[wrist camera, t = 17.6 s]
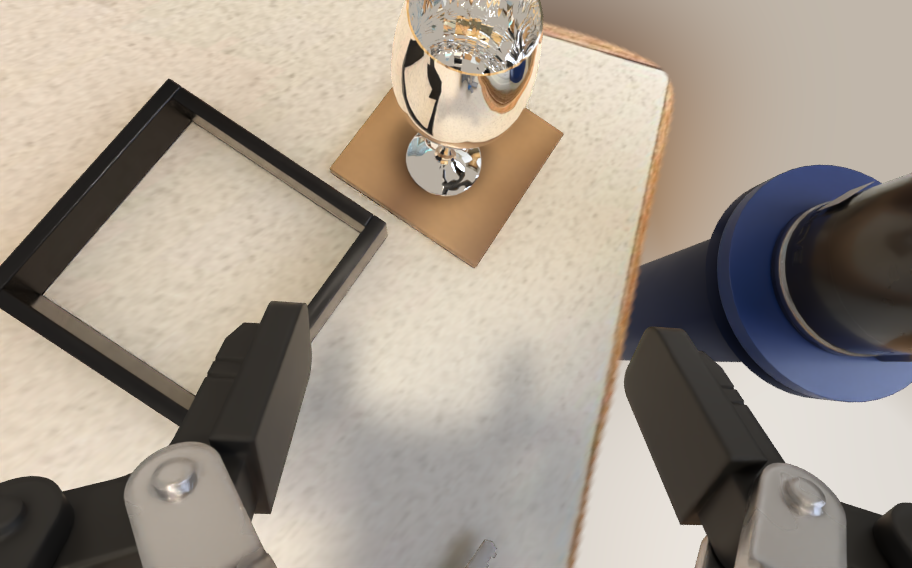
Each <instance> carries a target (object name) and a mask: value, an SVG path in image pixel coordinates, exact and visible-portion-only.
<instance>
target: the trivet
mask: <svg viewBox="0 0 912 568" xmlns="http://www.w3.org/2000/svg"><path fill="white" fill-rule="evenodd" d="M416 134H417V132H416V131H415V130H414V129H413V128H412V127H411V125H410V124H409V123H408V122H407V120H406V119H405V117H404V116H403V114H402V112H401V110H400V108H399V106H398V103H397V100H396V97H395V94H394V90H393V87H392V88H391V90H390V91H389V92H388V93H387V95H386V96H385V97H384V99H383V100H382V101H381V103H380V104H379V105H378V106H377V108H376V109H375V110H374V112H373V113H372V114H371V115H370V117H369V118H368V119H367V121H366V122H365V123H364V125H363V126H362V127H361V128H360V130H359V131H358V132H357V134H356V135H355V136H354V138H353V139H352V140H351V141H350V143H349V144H348V145H347V147H346V148H345V149H344V151H343V152H342V153H341V154H340V156H339V157H338V158H337V160H336V161H335V162H334V163H333V165H332V166H331V167H330V171H331V173H333V174H334V175H336V176H337V177H339V178H340V179H342V180H343V181H345V182H346V183H348V184H349V185H351V186H352V187H354V188H355V189H357V190H358V191H360V192H361V193H363V194H364V195H366V196H367V197H369V198H370V199H372V200H373V201H375V202H376V203H378V204H379V205H381V206H382V207H384V208H385V209H387V210H388V211H390V212H391V213H393V214H394V215H396V216H397V217H399V218H400V219H402V220H403V221H405V222H406V223H408V224H409V225H411V226H412V227H414V228H415V229H417V230H418V231H420V232H421V233H423V234H424V235H426V236H427V237H428V238H430V239H431V240H433V241H434V242H436V243H437V244H439V245H440V246H442V247H443V248H445V249H446V250H448V251H449V252H451V253H452V254H454V255H455V256H457V257H458V258H460V259H461V260H463V261H464V262H466V263H467V264H469V265H470V266H472V267H473V268H475V267H476V266H477V265H478V263H479V262H480V260H481V259H482V257H483V256H484V254H485V253H486V251H487V250H488V248H489V247H490V245H491V243H492V242H493V240H494V239H495V237H496V236H497V234H498V233H499V231H500V230H501V228H502V227H503V225H504V224H505V222H506V221H507V219H508V218H509V216H510V215H511V213H512V212H513V210H514V209H515V207H516V206H517V204H518V203H519V201H520V200H521V198H522V197H523V195H524V194H525V192H526V190H527V189H528V187H529V186H530V184H531V183H532V181H533V180H534V178H535V177H536V175H537V174H538V172H539V171H540V169H541V168H542V166H543V165H544V163H545V162H546V160H547V159H548V157H549V156H550V154H551V153H552V151H553V150H554V148H555V147H556V145H557V144H558V142H559V141H560V139H561V137H562V136H563V133H562V132H561V131H559V130H558V129H556V128H555V127H553V126H552V125H550V124H549V123H547V122H546V121H544V120H543V119H541V118H540V117H539V116H537V115H536V114H534V113H533V112H531V111H530V110H528V109H527V108H525V109H524V111H523V112H522V114H521V115H520V117H519V118H518V119H517V121H516V122H515V123H514V124H513V125H512V127H511V128H510V129H509V130H507V131H506V132H505V133H504V134H503V135H502V136H501V137H499V138H498V139H496V140H495V141H493V142H491V143H489V144H487V145H485V146H482V147H479V149H480V152H481V157H482V167H481V172H480V174H479V177H478V179H477V180H476V182H475V183H474V184H473V185H472V186H471V187H470V188H469V189H468V190H466V191H465V192H463V193H461V194H458V195H455V196H450V197H441V196H436V195H432V194H430V193H428V192H426V191H424V190H422V189H421V188H420V187H419V186H417V185H416V184H415V182H414V181H413V180H412V178H411V177H410V175H409V172H408V170H407V167H406V151H407V148H408V145H409V143H410V141H411V140H412V138H413V137H414V136H415V135H416Z"/></svg>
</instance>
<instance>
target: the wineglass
mask: <svg viewBox="0 0 912 568" xmlns="http://www.w3.org/2000/svg"><path fill="white" fill-rule="evenodd" d="M542 36H543V12H542V7H541V2H540V0H405V1H404V4H403V7H402V10H401V13H400V16H399V19H398V22H397V26H396V30H395V34H394V40H393V46H392V57H391V80H392V85H393V90H394V94H395V97H396V100H397V103H398V106H399V108H400V110H401V112H402V114H403V116H404V117H405V119H406V120H407V122H408V123H409V124H410V125H411V127H412V128H413V129H414V130H415V131H416V132H417V134H416V135H415V136H414V137H413V138H412V140H411V141H410V143H409V145H408V148H407V151H406V167H407V170H408V172H409V175H410V177H411V178H412V180H413V181H414V182H415V184H416V185H417V186H419V187H420V188H421V189H422V190H424V191H426V192H428V193H430V194H432V195H436V196H441V197H450V196H455V195H458V194H461V193H463V192H465V191H466V190H468V189H469V188H470V187H471V186H472V185H473V184H474V183H475V182H476V180H477V179H478V177H479V174H480V172H481V167H482V157H481V152H480V149H479V147H482V146H485V145H487V144H489V143H491V142H493V141H495V140H496V139H498V138H499V137H501V136H502V135H503V134H504V133H505V132H506V131H507V130H509V129H510V128H511V127H512V125H513V124H514V123H515V122H516V121H517V119H518V118H519V117H520V115H521V114H522V112H523V111H524V109H525V107H526V105H527V103H528V101H529V98H530V96H531V93H532V90H533V87H534V83H535V80H536V76H537V72H538V68H539V63H540V55H541V47H542Z"/></svg>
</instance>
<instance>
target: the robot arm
mask: <svg viewBox="0 0 912 568" xmlns="http://www.w3.org/2000/svg"><path fill="white" fill-rule="evenodd" d="M874 182H875V181H874ZM871 183H873V182H871ZM871 183H868V184H866V185H863V186H860V187H858V188H855V189H852V190H850V191H848V192H846V193H845V194H843V195H842V196H840V197H838V198H837V199H835V200H833V201H829V202H825V203H822V204H819V205H817V206H814V207H811V208H809V209H806V210H804V211H802V212H800V213H799V214H797V215H796V216H794V217H793V218H792V219H791V220H790V221H789V222H788V223H787V224H786V225H785V226H784V228H783V229H782V230H781V232H780V234H779V236H778V238H777V240H776V242H775V245H774V248H773V252H772V258H771V280H772V286H773V290H774V294H775V297H776V300H777V302H778V304H779V307H780V309H781V310H782V312H783V314H784V316H785V317H786V319H787V320H788V322H789V323H790V324H791V326H792V327H793V328H794V329H795V330H796V331H797V332H798V333H799V334H800V335H801V336H802V337H803V338H804V339H805V340H807V341H808V342H810V343H811V344H813V345H814V346H816V347H817V348H819V349H822V350H824V351H826V352H829V353H831V354H835V355H839V356H847V357H871V356H874V357H875V358H877V359H878V360H880V361H882V362H912V173H910V174H908V175H905V176H902V177H899V178H896V179H894V180H891V181H888V182H886V183H882V184H880V185H877V186H874V187H871V188H868V189H866V190H863V191H860V190H862V189H863V188H865V187H866V186H868V185H870V184H871ZM858 191H860V192H858ZM311 360H312V351H311V339H310V328H309V317H308V308H307V305H306V303H294V302H278V301H271V302H270V303H269V305H268V307H267V309H266V311H265V313H264V316H263V318H262V320H261V322H260V324H259V323H243V324H242V325H241V326H239V327H238V328H237V329H236V330H235V331H234V332H232V333H231V334H230V335H229V336H228V337H227V338H225V340H224V342H223V344H222V346H221V348H220V350H219V352H218V354H217V356H216V360H215V361H213V363H212V365H211V367H210V369H209V371H208V375H207V377H205V379H204V381H203V383H202V385H201V386H200V388H199V390H198V392H197V394H196V396H195V398H194V400H193V402H192V404H191V406H190V408H189V410H188V412H187V413H186V415H185V417H184V419H183V421H182V423H181V425H180V427H179V429H178V431H177V433H176V435H175V437H174V438H173V440H172V441H171V443H170V444H169V446H167V447H165V448H162V449H160V450H158V451H157V452H155V453H153V454H152V455H150V456H149V457H147V458H146V459H145V460H144V461H143V462H141V463H140V464H139V466H138V467H137V468H136V469H135V470H134V471H133V473H131V474H128V475H126V476H123V477H120V478H116V479H113V480H108V481H104V482H100V483H96V484H92V485H88V486H84V487H80V488H76V489H71V490H67V491H63V492H62V491H61V489H60V488H59V487H58V485H57V484H56V483H55V482H53V481H52V480H50V479H48V478H44V477H38V476H28V477H20V478H15V479H11V480H8V481H5V482H2V483H0V568H277V567H276V565H275V563H274V561H273V560H272V558H271V556H270V555H269V554H267V553H266V551H265V550H264V548H263V546H262V544H261V542H260V540H259V538H258V536H257V533H256V531H255V529H254V527H253V525H252V523H251V521H252V518H253V515H254V514H271V511H272V507H273V504H274V500H275V497H276V493H277V490H278V486H279V483H280V479H281V475H282V472H283V468H284V465H285V461H286V458H287V454H288V451H289V447H290V444H291V440H292V437H293V433H294V430H295V426H296V422H297V419H298V415H299V412H300V408H301V405H302V401H303V398H304V394H305V391H306V387H307V384H308V380H309V376H310V370H311ZM624 388H625V393H626V396H627V398H628V401H629V403H630V406H631V408H632V411H633V413H634V415H635V418H636V420H637V422H638V425H639V427H640V430H641V432H642V434H643V437H644V439H645V441H646V444H647V446H648V449H649V451H650V453H651V456H652V458H653V461H654V463H655V465H656V467H657V470H658V472H659V475H660V477H661V480H662V482H663V484H664V487H665V489H666V492H667V494H668V496H669V498H670V501H671V503H672V506H673V508H674V510H675V513H676V515H677V518H678V520H679V522H680V524H681V525H703V528H704V530H705V532H706V534H707V535H706V537H705V538H704V539H703V540H702V542H701V545H700V549H699V553H698V557H697V561H696V565H695V568H912V503H900V504H897V505H896V506H894V507H893V508H892V509H891V510H889V511H888V512H887V513H886V514H884V515H880V514H877V513H873V512H870V511H867V510H864V509H861V508H858V507H855V506H852V505H848V504H845V503H842V502H840V501H839V500H838V498H837V497H836V495H835V494H834V493H833V492H832V491H831V490H830V489H829V488H828V487H827V486H826V485H825V484H824V483H823V482H822V481H821V480H819V479H818V478H817V477H815V476H814V475H812V474H811V473H809V472H807V471H806V470H804V469H801V468H799V467H797V466H794V465H791V464H786V463H785V462H784V460H783V459H782V457H781V456H780V454H779V453H778V451H777V450H776V448H775V447H774V445H773V444H772V442H771V441H770V439H769V438H768V436H767V435H766V433H765V432H764V430H763V429H762V427H761V426H760V424H759V423H758V421H757V420H756V418H755V417H754V415H753V414H752V412H751V411H750V409H749V408H748V407H747V405H744V400H743V399H742V397H741V396H740V394H739V393H738V392H737V390H734V385H733V384H732V383H731V381H730V379H729V378H728V376H727V375H726V373H725V372H724V370H723V369H722V368H721V367H720V366H719V365H718V364H717V363H716V362H715V361H713V360H712V359H711V358H710V357H709V356H708V355H707V354H705V353H704V352H703V351H698V350H697V348H696V347H695V345H694V344H693V342H692V340H691V339H690V337H689V336H688V334H687V333H686V332H685V331H684V330H683V329H678V328H663V327H649V328H647V329H646V330H645V332H644V333H643V335H642V337H641V340H640V342H639V344H638V346H637V348H636V350H635V352H634V355H633V357H632V359H631V361H630V363H629V365H628V367H627V370H626V373H625V378H624Z"/></svg>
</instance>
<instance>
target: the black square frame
mask: <svg viewBox="0 0 912 568" xmlns="http://www.w3.org/2000/svg"><path fill="white" fill-rule="evenodd" d="M191 121H193V122H195V123H196V124H198V125H199V126H201V127H202V128H204V129H205V130H207V131H208V132H210V133H211V134H213V135H214V136H216V137H217V138H219V139H220V140H222V141H223V142H225V143H226V144H228V145H229V146H231V147H232V148H234V149H235V150H237V151H238V152H240V153H241V154H243V155H244V156H246V157H247V158H249V159H250V160H252V161H253V162H255V163H256V164H258V165H259V166H261V167H262V168H264V169H265V170H267V171H268V172H270V173H271V174H273V175H274V176H276V177H277V178H279V179H280V180H282V181H283V182H285V183H286V184H288V185H289V186H291V187H292V188H294V189H295V190H297V191H298V192H300V193H301V194H303V195H304V196H306V197H307V198H309V199H310V200H312V201H313V202H315V203H316V204H318V205H319V206H321V207H322V208H324V209H325V210H327V211H328V212H330V213H331V214H333V215H334V216H336V217H337V218H339V219H340V220H342V221H343V222H345V223H346V224H348V225H349V226H351V227H352V228H354V229H355V230H357V231H358V232H360V235H359V236H358V238H357V239H356V240H355V242H354V243H353V244H352V246H351V247H350V249H349V250H348V251H347V253H346V254H345V255H344V257H343V258H342V260H341V261H340V262H339V264H338V265H337V266H336V268H335V269H334V270H333V272H332V273H331V275H330V276H329V277H328V279H327V280H326V281H325V283H324V284H323V286H322V287H321V288H320V290H319V291H318V292H317V294H316V295H315V297H314V298H313V299H312V301H311V302H310V303H309V305H308V306H307V308H308V317H309V328H310V339H311V342H312V341H313V339H314V338H315V336H316V335H317V334H318V332H319V331H320V329H321V328H322V327H323V325H324V324H325V322H326V321H327V320H328V318H329V317H330V315H331V314H332V313H333V311H334V310H335V308H336V307H337V306H338V304H339V303H340V301H341V300H342V299H343V297H344V296H345V294H346V293H347V292H348V290H349V289H350V287H351V286H352V285H353V283H354V282H355V280H356V279H357V278H358V276H359V275H360V274H361V272H362V271H363V269H364V268H365V267H366V265H367V264H368V262H369V261H370V260H371V258H372V257H373V255H374V254H375V253H376V251H377V250H378V248H379V247H380V246H381V244H382V243H383V241H384V240H385V239H386V237H387V235H388V234H387V226H386V223H385V222H384V221H382V220H381V219H379V218H378V217H376V216H373V214H372V213H370V212H369V211H367V210H366V209H364V208H363V207H361V206H360V205H358V204H357V203H355V202H354V201H352V200H351V199H349V198H348V197H346V196H345V195H343V194H342V193H340V192H339V191H337V190H336V189H334V188H333V187H331V186H330V185H328V184H327V183H325V182H324V181H322V180H321V179H319V178H318V177H316V176H315V175H313V174H312V173H310V172H309V171H307V170H306V169H304V168H303V167H301V166H300V165H298V164H297V163H295V162H294V161H292V160H291V159H289V158H288V157H286V156H285V155H283V154H282V153H280V152H279V151H277V150H276V149H274V148H273V147H271V146H270V145H268V144H267V143H265V142H264V141H262V140H261V139H259V138H258V137H256V136H255V135H253V134H252V133H250V132H249V131H247V130H246V129H244V128H243V127H241V126H240V125H238V124H237V123H235V122H234V121H232V120H231V119H229V118H228V117H226V116H225V115H223V114H222V113H220V112H219V111H217V110H216V109H214V108H213V107H211V106H210V105H208V104H207V103H205V102H204V101H202V100H201V99H199V98H198V97H196V96H195V95H193V94H192V93H190V92H189V91H187V90H186V89H184V88H182V87H181V86H180V85H179V84H177V83H176V82H174V81H173V80H171V79H168V80H167V81H166V82H165V83H164V84H163V85H162V86H161V87H160V88H159V90H158V91H157V92H156V93H155V94H154V95H153V96H152V97H151V99H150V100H149V101H148V102H147V103H146V104H145V105H144V106H143V107H142V109H141V110H140V111H139V112H138V113H137V114H136V115H135V116H134V117H133V119H132V120H131V121H130V122H129V123H128V124H127V125H126V126H125V128H124V129H123V130H122V131H121V132H120V133H119V134H118V135H117V136H116V138H115V139H114V140H113V141H112V142H111V143H110V144H109V145H108V146H107V148H106V149H105V150H104V151H103V152H102V153H101V154H100V155H99V156H98V158H97V159H96V160H95V161H94V162H93V163H92V164H91V165H90V167H89V168H88V169H87V170H86V171H85V172H84V173H83V174H82V175H81V177H80V178H79V179H78V180H77V181H76V182H75V183H74V184H73V185H72V187H71V188H70V189H69V190H68V191H67V192H66V193H65V194H64V195H63V197H62V198H61V199H60V200H59V201H58V202H57V203H56V204H55V206H54V207H53V208H52V209H51V210H50V211H49V212H48V213H47V214H46V216H45V217H44V218H43V219H42V220H41V221H40V222H39V223H38V224H37V226H36V227H35V228H34V229H33V230H32V231H31V232H30V233H29V235H28V236H27V237H26V238H25V239H24V240H23V241H22V242H21V243H20V245H19V246H18V247H17V248H16V249H15V250H14V251H13V252H12V253H11V255H10V256H9V257H8V258H7V259H6V260H5V261H4V262H3V263H2V265H1V266H0V308H1V309H2V310H4V311H5V312H7V313H8V314H10V315H11V316H13V317H14V318H16V319H17V320H19V321H20V322H22V323H23V324H25V325H26V326H28V327H29V328H31V329H32V330H34V331H36V332H37V333H39V334H40V335H42V336H43V337H45V338H46V339H48V340H49V341H51V342H52V343H54V344H55V345H57V346H58V347H60V348H61V349H63V350H64V351H66V352H67V353H69V354H70V355H72V356H73V357H75V358H76V359H78V360H80V361H81V362H83V363H84V364H86V365H87V366H89V367H90V368H92V369H93V370H95V371H96V372H98V373H99V374H101V375H102V376H104V377H105V378H107V379H108V380H110V381H111V382H113V383H114V384H116V385H117V386H119V387H120V388H122V389H124V390H125V391H127V392H128V393H130V394H131V395H133V396H134V397H136V398H137V399H139V400H140V401H142V402H143V403H145V404H146V405H148V406H149V407H151V408H152V409H154V410H155V411H157V412H158V413H160V414H161V415H163V416H164V417H166V418H168V419H169V420H171V421H172V422H174V423H175V424H177V425H178V426H180V425H181V423H182V421H183V419H184V417H185V415H186V413H187V412H188V410H189V408H190V406H191V404H192V402H193V400H194V398H195V396H194V395H192V394H191V393H189V392H188V391H186V390H185V389H183V388H182V387H180V386H179V385H177V384H176V383H174V382H173V381H171V380H170V379H168V378H167V377H165V376H163V375H162V374H160V373H159V372H157V371H156V370H154V369H153V368H151V367H150V366H148V365H147V364H145V363H144V362H142V361H141V360H139V359H138V358H136V357H135V356H133V355H132V354H130V353H129V352H127V351H126V350H124V349H123V348H121V347H120V346H118V345H117V344H115V343H114V342H112V341H110V340H109V339H107V338H106V337H104V336H103V335H101V334H100V333H98V332H97V331H95V330H94V329H92V328H91V327H89V326H88V325H86V324H85V323H83V322H82V321H80V320H79V319H77V318H76V317H74V316H73V315H71V314H70V313H68V312H67V311H65V310H64V309H62V308H60V307H59V306H57V305H56V304H54V303H53V302H51V301H50V300H48V299H47V298H45V297H44V296H42V295H41V294H42V293H43V292H44V291H45V290H46V289H47V288H48V286H49V285H50V284H51V283H52V282H53V281H54V279H55V278H56V277H57V276H58V275H59V274H60V273H61V271H62V270H63V269H64V268H65V267H66V266H67V264H68V263H69V262H70V261H71V260H72V259H73V257H74V256H75V255H76V254H77V253H78V252H79V251H80V249H81V248H82V247H83V246H84V245H85V244H86V242H87V241H88V240H89V239H90V238H91V237H92V235H93V234H94V233H95V232H96V231H97V230H98V229H99V227H100V226H101V225H102V224H103V223H104V222H105V220H106V219H107V218H108V217H109V216H110V215H111V214H112V212H113V211H114V210H115V209H116V208H117V207H118V205H119V204H120V203H121V202H122V201H123V200H124V198H125V197H126V196H127V195H128V194H129V193H130V192H131V190H132V189H133V188H134V187H135V186H136V185H137V183H138V182H139V181H140V180H141V179H142V178H143V176H144V175H145V174H146V173H147V172H148V171H149V170H150V168H151V167H152V166H153V165H154V164H155V163H156V161H157V160H158V159H159V158H160V157H161V156H162V155H163V153H164V152H165V151H166V150H167V149H168V148H169V146H170V145H171V144H172V143H173V142H174V141H175V139H176V138H177V137H178V136H179V135H180V134H181V133H182V131H183V130H184V129H185V128H186V127H187V126H188V124H189V123H190V122H191Z"/></svg>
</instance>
